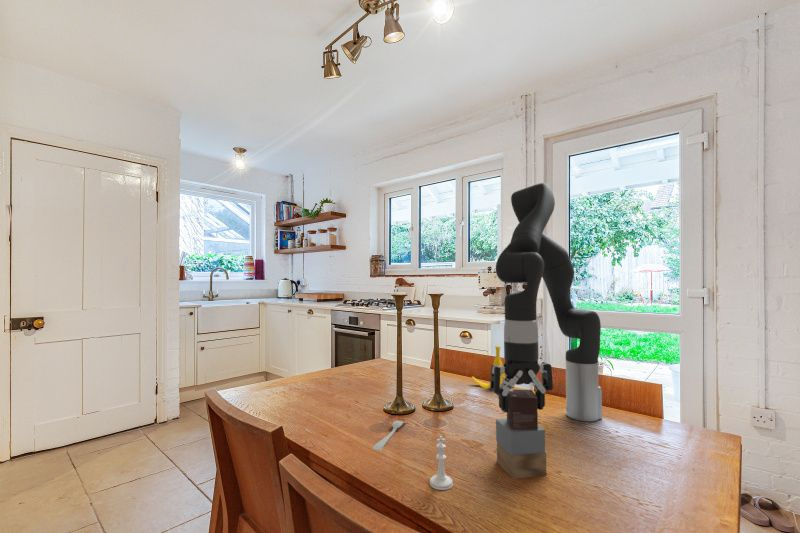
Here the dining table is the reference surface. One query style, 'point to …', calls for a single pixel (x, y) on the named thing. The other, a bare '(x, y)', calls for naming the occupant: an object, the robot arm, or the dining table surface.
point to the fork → (381, 443)
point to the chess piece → (441, 470)
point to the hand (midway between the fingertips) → (521, 410)
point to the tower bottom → (522, 463)
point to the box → (522, 409)
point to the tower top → (519, 439)
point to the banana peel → (496, 362)
